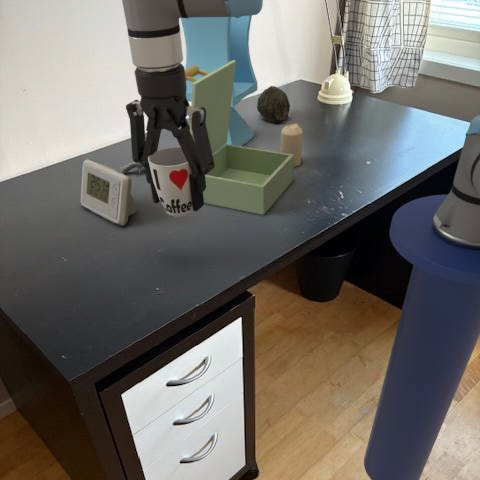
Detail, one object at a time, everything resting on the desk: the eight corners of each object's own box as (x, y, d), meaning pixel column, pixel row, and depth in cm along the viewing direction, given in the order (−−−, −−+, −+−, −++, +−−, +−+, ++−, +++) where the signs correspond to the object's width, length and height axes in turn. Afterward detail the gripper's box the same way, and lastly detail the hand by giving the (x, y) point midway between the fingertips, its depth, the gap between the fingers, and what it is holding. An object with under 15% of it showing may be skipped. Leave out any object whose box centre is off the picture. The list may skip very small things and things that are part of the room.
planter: (234, 155, 133) (228, 6, 109) (186, 147, 138) (171, 4, 115) (257, 135, 143) (256, -4, 120) (212, 129, 148) (202, -6, 125)
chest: (292, 180, 120) (293, 154, 115) (263, 215, 107) (263, 187, 103) (226, 169, 126) (225, 143, 122) (192, 200, 114) (189, 173, 109)
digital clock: (79, 206, 113) (67, 163, 106) (114, 194, 117) (104, 152, 110) (109, 233, 104) (97, 188, 96) (145, 220, 107) (137, 175, 100)
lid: (236, 60, 107) (205, 51, 109) (195, 83, 95) (162, 72, 97) (226, 142, 121) (200, 133, 123) (190, 172, 109) (161, 161, 110)
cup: (151, 219, 85) (141, 165, 78) (164, 197, 91) (156, 146, 84) (195, 221, 84) (188, 167, 77) (206, 199, 89) (200, 147, 83)
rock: (276, 124, 147) (275, 89, 141) (251, 121, 154) (250, 87, 149) (298, 120, 152) (298, 85, 147) (273, 117, 160) (273, 84, 154)
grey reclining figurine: (121, 166, 130) (149, 150, 130) (131, 186, 130) (160, 169, 130) (111, 155, 120) (142, 138, 120) (123, 176, 120) (154, 159, 120)
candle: (292, 157, 130) (293, 119, 124) (305, 163, 127) (307, 125, 120) (276, 162, 128) (276, 124, 122) (288, 169, 125) (290, 130, 118)
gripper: (231, 63, 70) (238, 203, 85) (118, 54, 77) (143, 185, 92) (207, 77, 65) (219, 224, 80) (88, 66, 72) (120, 203, 87)
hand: (178, 203), depth 86 cm, fingers closed on cup, 8 cm apart
